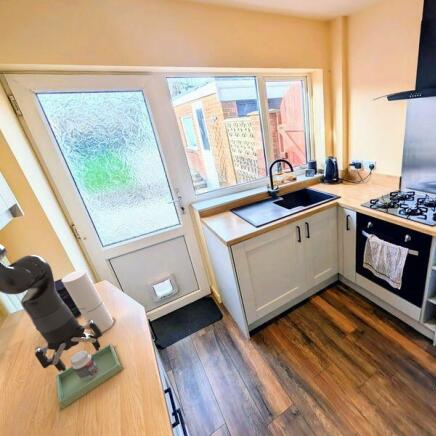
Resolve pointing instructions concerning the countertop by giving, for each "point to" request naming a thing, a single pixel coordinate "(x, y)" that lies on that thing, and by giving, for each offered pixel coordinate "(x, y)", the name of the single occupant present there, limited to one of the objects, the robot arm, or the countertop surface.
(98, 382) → the tray
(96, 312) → the cylindrical container
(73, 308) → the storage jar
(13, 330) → the countertop surface
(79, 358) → the pill bottle
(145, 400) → the countertop surface
